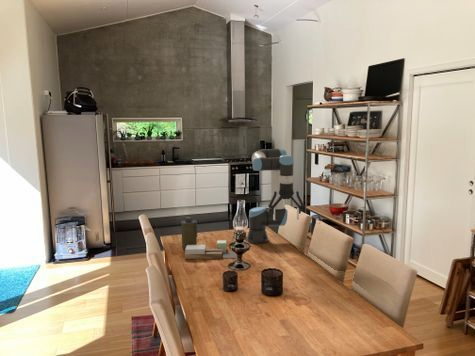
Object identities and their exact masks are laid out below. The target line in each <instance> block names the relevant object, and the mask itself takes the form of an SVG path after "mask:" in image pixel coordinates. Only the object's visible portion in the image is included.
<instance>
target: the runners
mask: <svg viewBox="0 0 475 356" xmlns="http://www.w3.org/2000/svg"><path fill="white" fill-rule="evenodd" d="M191 259H193V260H196V259H197V260H201V259H203V260H204V259H223V252H222V249H217V248H206V251H205V254H185V253H184V260H191Z"/></svg>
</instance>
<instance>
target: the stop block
mask: <svg viewBox="0 0 475 356" xmlns="http://www.w3.org/2000/svg"><path fill="white" fill-rule="evenodd" d="M216 249H222V253H225V252H227V239H225V240H222V239H221V240H219V239H218V240H217V241H216Z"/></svg>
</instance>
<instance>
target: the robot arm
mask: <svg viewBox="0 0 475 356" xmlns="http://www.w3.org/2000/svg"><path fill="white" fill-rule="evenodd" d="M251 162H252V170H253V171H259V172H260V171H270V201H269V202H268V203H269V204H268V209H266V207H265V206H257V207H252V208H251V209H249V212H248V213H249V215H248V221H249V222H248V224H249V225H248V226H249V227H248V233H247V236H246V241H247V242H248V243H250V244H259V245H260V244H264V243H268V242H269V236H268V233H267V228H266V227H280V226H283V227H284V226H285V225H286V224H287V222H288V213H289V212H288V209H286V206H285V205H284V200H290V199H291V201H293V203H294V204H295V205H296V206H297V207H296V220H300V215H301V213H302V208H305V204H304V203H303V201H302V199H301V197H300V193H299V191H298V190H295V191H294V183H293V182H294V157H293V155H288V154H287V150H286V149H284V148H270V149H269V148H268V149H266V148H265V149H264V148H263V149H258V150H257V151H255V152H253V153H252V155H251ZM293 195H295V196H296V197H297V200H298V202H299V203H298V202H297V200H296V199H295V198H294V197H293Z"/></svg>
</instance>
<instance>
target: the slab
mask: <svg viewBox="0 0 475 356" xmlns="http://www.w3.org/2000/svg"><path fill="white" fill-rule="evenodd" d="M206 249H207V244H197V245H187V246H186V248H184V250H185V251H184V255H185V254H205V251H206Z"/></svg>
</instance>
